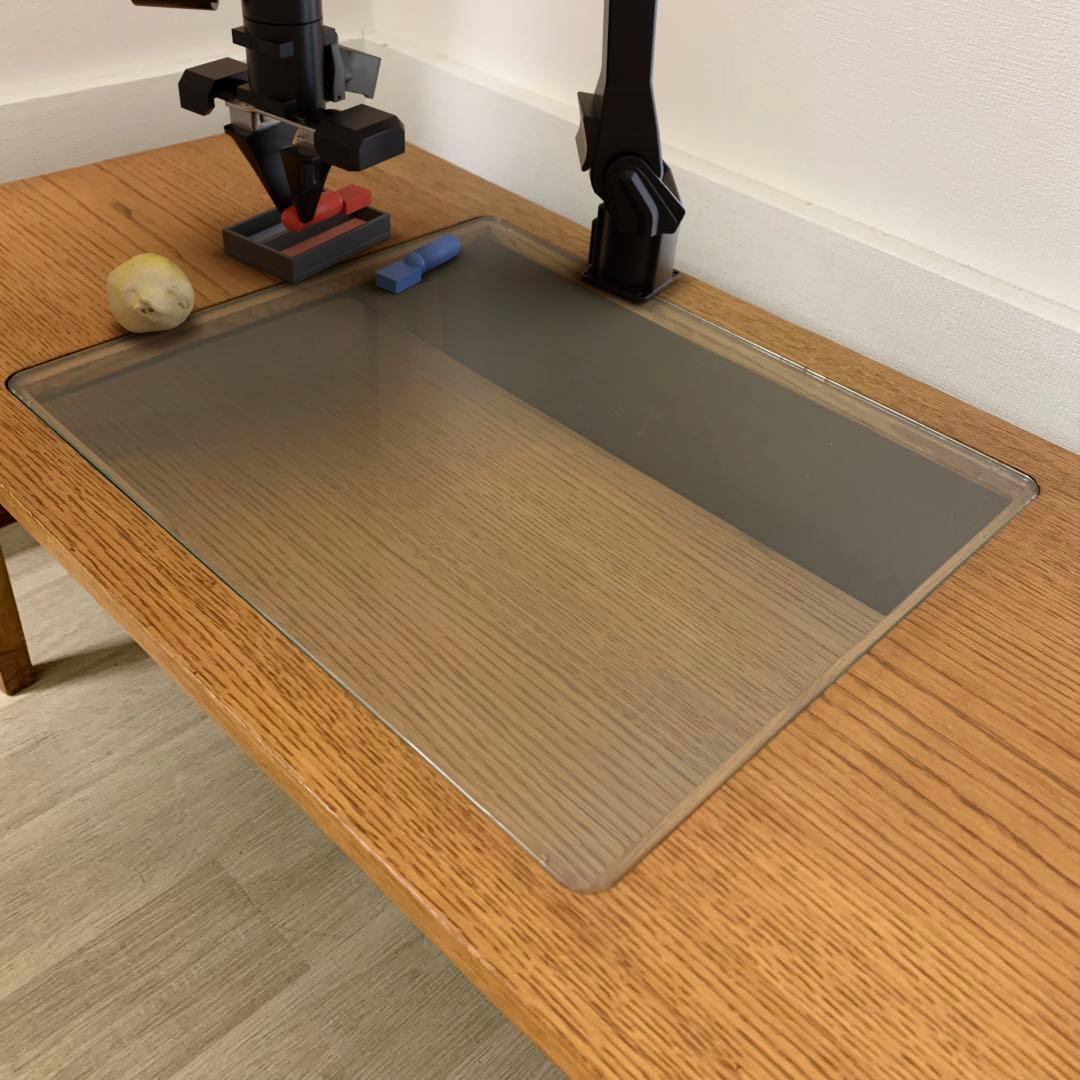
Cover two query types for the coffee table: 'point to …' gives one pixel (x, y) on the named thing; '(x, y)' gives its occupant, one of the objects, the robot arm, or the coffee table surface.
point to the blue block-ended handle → (417, 263)
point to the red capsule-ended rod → (330, 206)
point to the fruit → (149, 294)
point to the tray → (304, 241)
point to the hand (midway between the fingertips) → (296, 217)
